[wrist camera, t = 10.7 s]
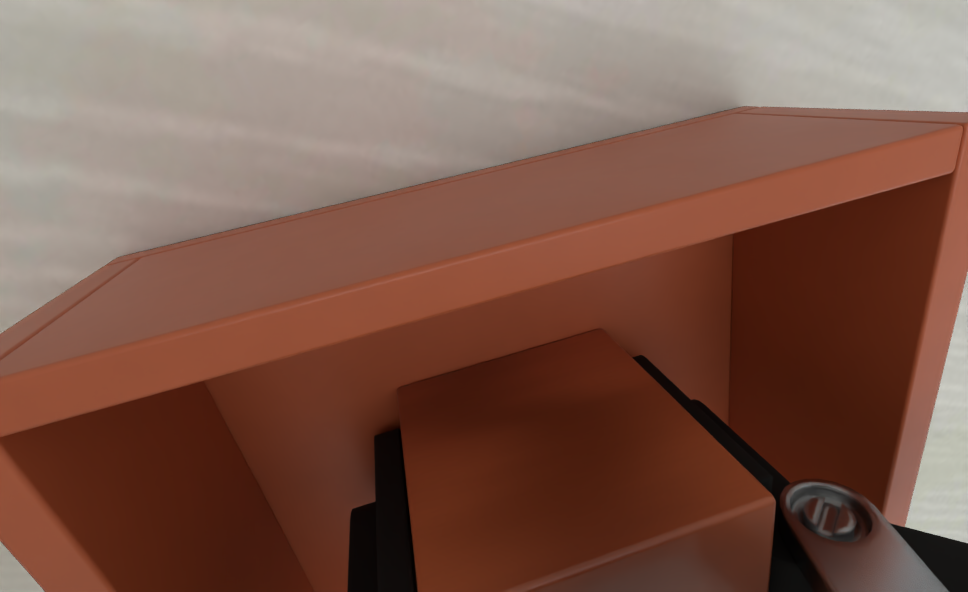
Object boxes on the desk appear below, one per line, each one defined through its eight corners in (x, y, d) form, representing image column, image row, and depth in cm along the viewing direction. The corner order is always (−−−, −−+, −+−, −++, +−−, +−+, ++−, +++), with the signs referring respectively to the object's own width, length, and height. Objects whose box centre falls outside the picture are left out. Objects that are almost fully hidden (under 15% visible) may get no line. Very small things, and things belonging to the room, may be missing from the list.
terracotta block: (445, 539, 12) (494, 811, 7) (394, 386, 10) (420, 626, 5) (618, 480, 12) (762, 700, 8) (602, 325, 11) (780, 497, 6)
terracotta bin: (338, 664, 13) (327, 910, 9) (115, 257, 8) (-122, 411, 4) (732, 521, 15) (868, 680, 11) (744, 105, 10) (1008, 112, 6)
